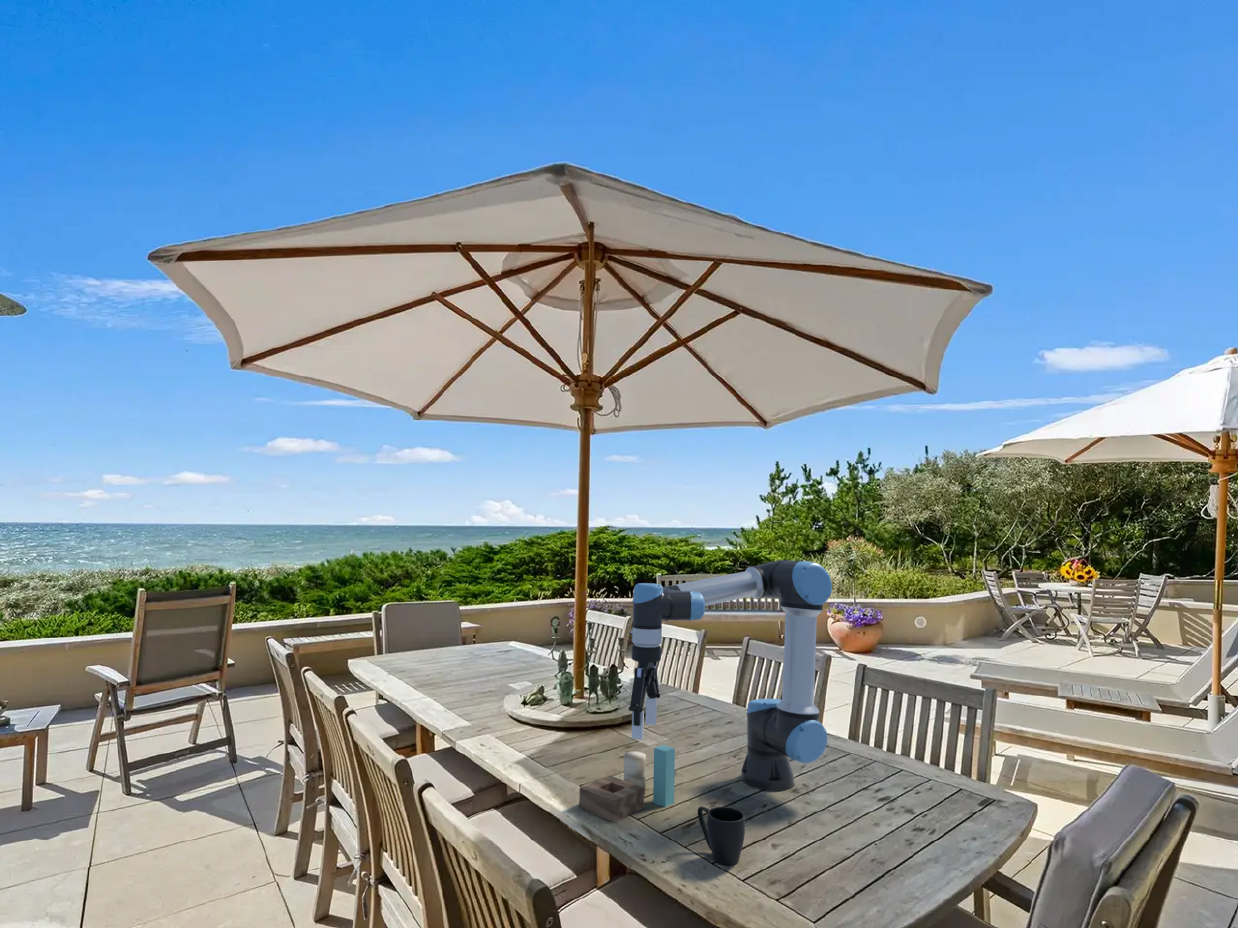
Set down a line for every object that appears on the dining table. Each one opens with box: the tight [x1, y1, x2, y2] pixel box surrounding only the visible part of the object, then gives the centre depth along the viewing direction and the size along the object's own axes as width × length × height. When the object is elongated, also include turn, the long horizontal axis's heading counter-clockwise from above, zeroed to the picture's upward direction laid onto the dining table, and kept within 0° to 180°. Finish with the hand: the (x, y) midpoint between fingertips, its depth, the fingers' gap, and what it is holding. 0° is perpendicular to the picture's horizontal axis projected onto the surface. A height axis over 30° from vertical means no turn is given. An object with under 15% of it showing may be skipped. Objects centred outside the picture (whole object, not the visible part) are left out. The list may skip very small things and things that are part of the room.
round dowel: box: [623, 750, 647, 796], centre depth 177 cm, size 6×6×10 cm
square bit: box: [652, 744, 676, 808], centre depth 171 cm, size 4×4×14 cm
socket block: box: [578, 775, 645, 823], centre depth 167 cm, size 12×12×5 cm
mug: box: [697, 806, 746, 867], centre depth 142 cm, size 8×12×10 cm
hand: (644, 731), depth 161 cm, fingers open, 13 cm apart
